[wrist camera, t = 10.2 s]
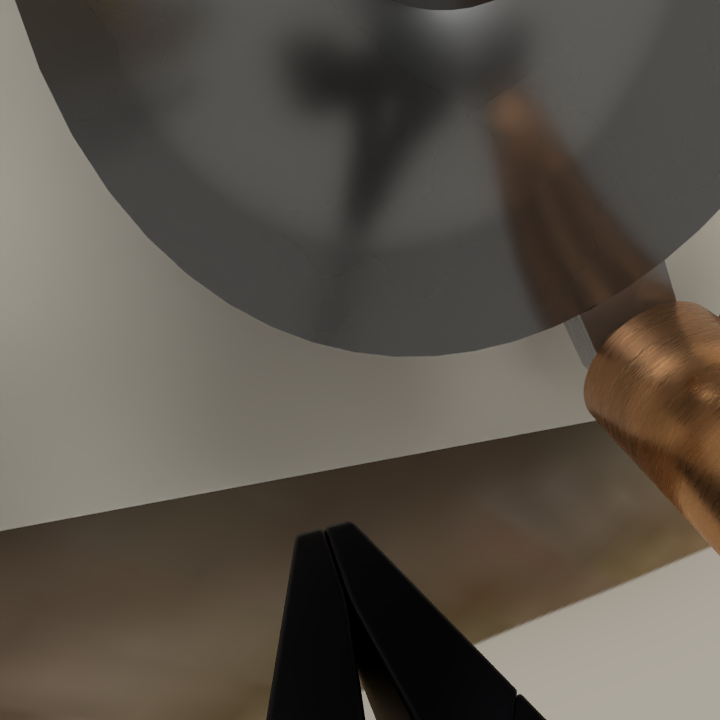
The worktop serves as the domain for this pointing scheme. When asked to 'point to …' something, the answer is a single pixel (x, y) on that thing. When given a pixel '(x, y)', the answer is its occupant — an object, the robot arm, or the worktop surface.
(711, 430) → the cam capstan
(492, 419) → the stand
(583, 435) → the worktop surface
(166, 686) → the worktop surface
